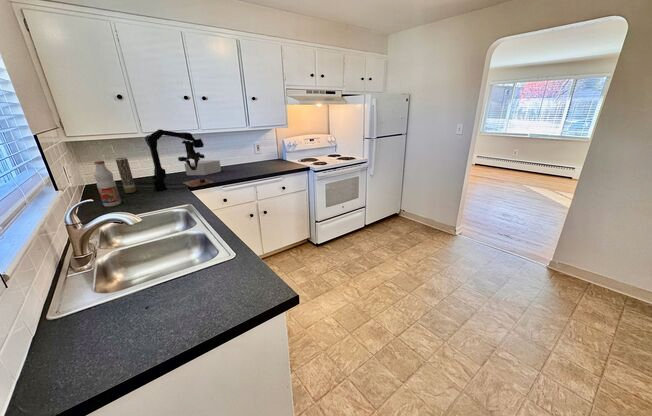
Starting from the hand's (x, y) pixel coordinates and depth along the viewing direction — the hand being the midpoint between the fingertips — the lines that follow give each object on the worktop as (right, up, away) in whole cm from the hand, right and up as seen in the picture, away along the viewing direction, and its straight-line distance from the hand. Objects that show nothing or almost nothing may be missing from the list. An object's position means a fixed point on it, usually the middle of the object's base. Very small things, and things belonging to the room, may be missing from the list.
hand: (193, 168), depth 217 cm
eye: (+7, -12, 0) cm, 14 cm away
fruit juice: (-30, -30, -44) cm, 62 cm away
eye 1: (0, -1, 0) cm, 1 cm away
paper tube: (-36, -21, -20) cm, 47 cm away
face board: (+3, -12, +2) cm, 12 cm away
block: (-6, 0, +32) cm, 33 cm away
